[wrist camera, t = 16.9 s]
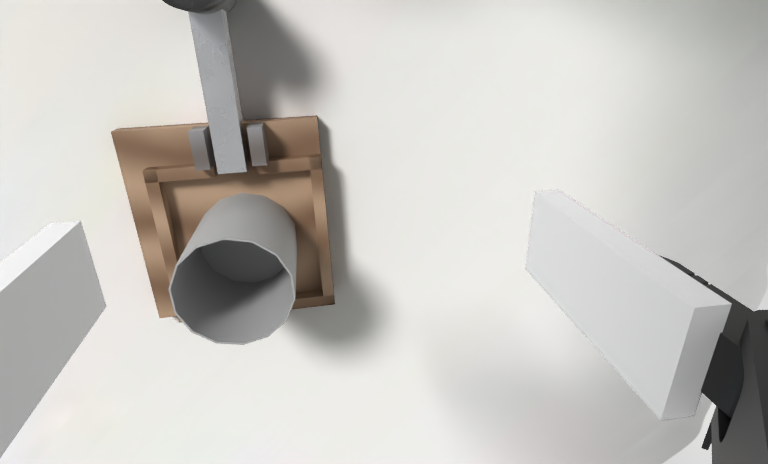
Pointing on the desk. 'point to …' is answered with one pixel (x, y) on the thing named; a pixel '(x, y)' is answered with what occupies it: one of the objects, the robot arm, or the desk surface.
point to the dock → (225, 194)
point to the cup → (237, 271)
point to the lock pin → (218, 80)
